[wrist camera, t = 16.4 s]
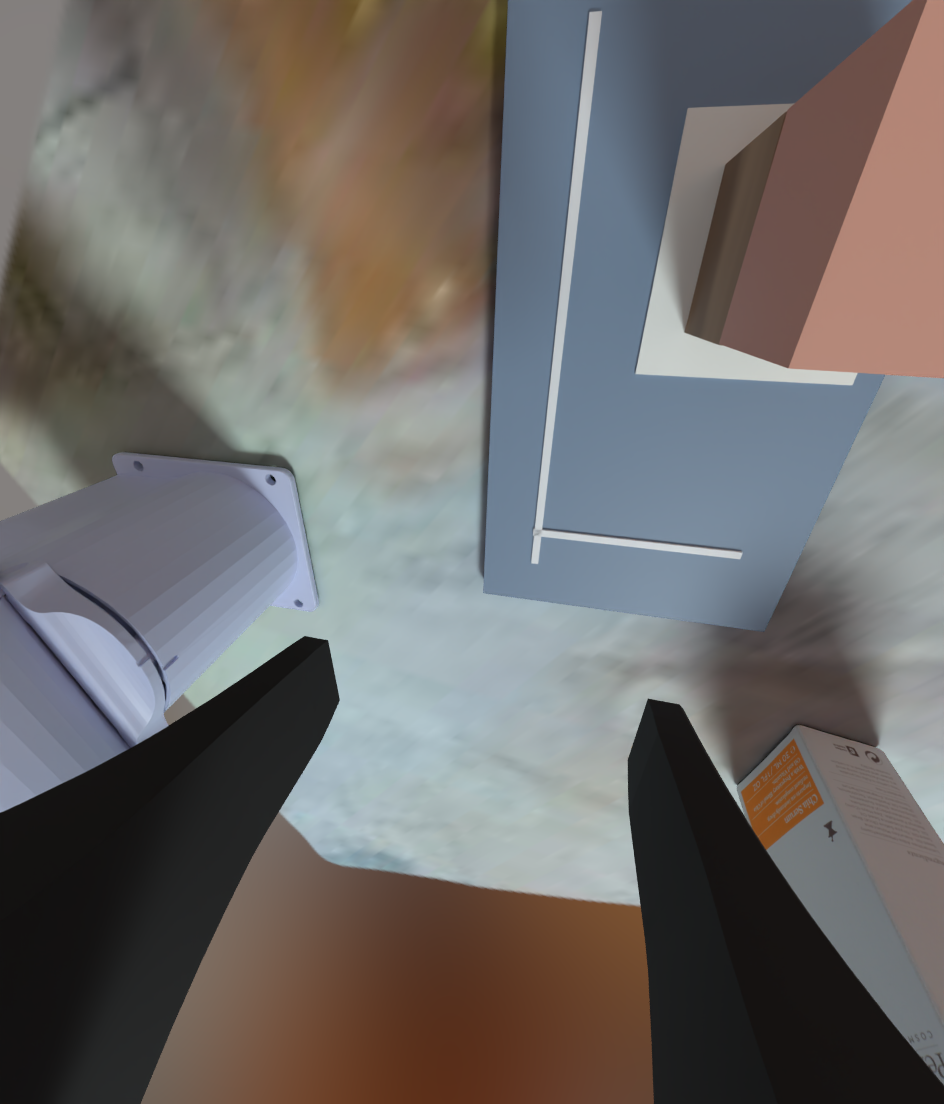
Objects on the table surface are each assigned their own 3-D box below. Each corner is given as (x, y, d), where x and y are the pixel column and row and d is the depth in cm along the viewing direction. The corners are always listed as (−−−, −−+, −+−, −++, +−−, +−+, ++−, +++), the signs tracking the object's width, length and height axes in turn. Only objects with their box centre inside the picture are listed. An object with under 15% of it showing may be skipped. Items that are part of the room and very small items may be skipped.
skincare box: (792, 719, 21) (985, 1099, 11) (882, 745, 21) (1162, 1160, 11) (730, 787, 25) (836, 1129, 15) (806, 810, 24) (970, 1176, 14)
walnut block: (684, 332, 14) (719, 345, 10) (725, 164, 12) (785, 112, 8) (826, 338, 13) (914, 353, 10) (896, 161, 11) (1039, 101, 8)
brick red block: (719, 343, 10) (788, 369, 7) (787, 109, 8) (934, -19, 5) (913, 354, 10) (1092, 387, 6) (1040, 103, 8) (1407, -48, 4)
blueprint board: (486, 583, 21) (482, 594, 20) (516, -82, 11) (512, -111, 10) (757, 619, 19) (764, 633, 18) (1105, -151, 9) (1155, -192, 8)
